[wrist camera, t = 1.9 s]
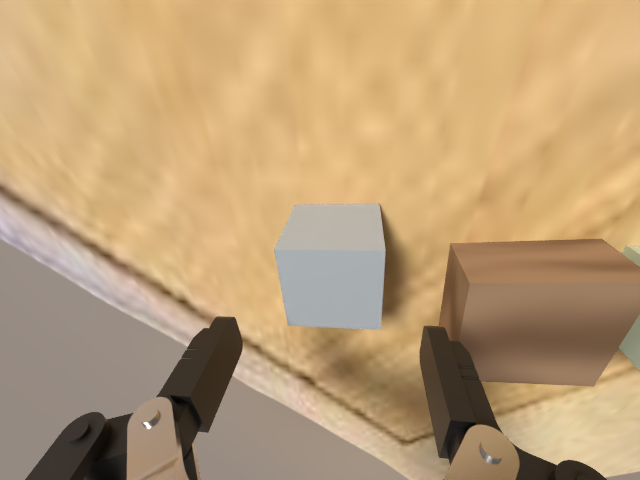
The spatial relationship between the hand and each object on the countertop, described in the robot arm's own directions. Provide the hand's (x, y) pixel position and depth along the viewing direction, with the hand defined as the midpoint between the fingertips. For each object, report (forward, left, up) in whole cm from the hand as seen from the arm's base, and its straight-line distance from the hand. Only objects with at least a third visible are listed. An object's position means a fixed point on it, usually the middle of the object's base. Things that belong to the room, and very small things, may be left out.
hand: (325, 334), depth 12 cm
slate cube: (0, 0, -7) cm, 7 cm away
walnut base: (+4, +11, -8) cm, 14 cm away
